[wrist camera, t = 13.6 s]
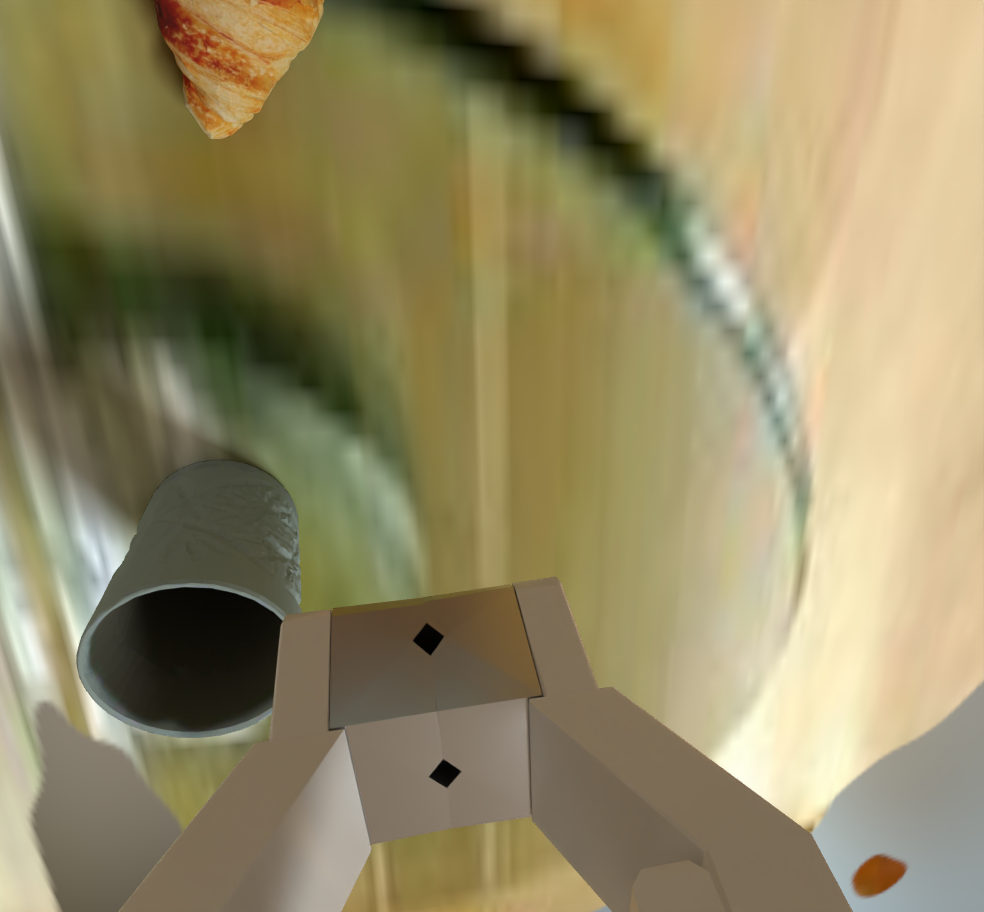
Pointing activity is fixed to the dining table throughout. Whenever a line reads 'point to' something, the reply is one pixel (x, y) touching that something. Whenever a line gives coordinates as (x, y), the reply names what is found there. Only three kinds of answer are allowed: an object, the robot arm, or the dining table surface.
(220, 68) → the croissant
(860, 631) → the dining table surface
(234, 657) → the gray cup
